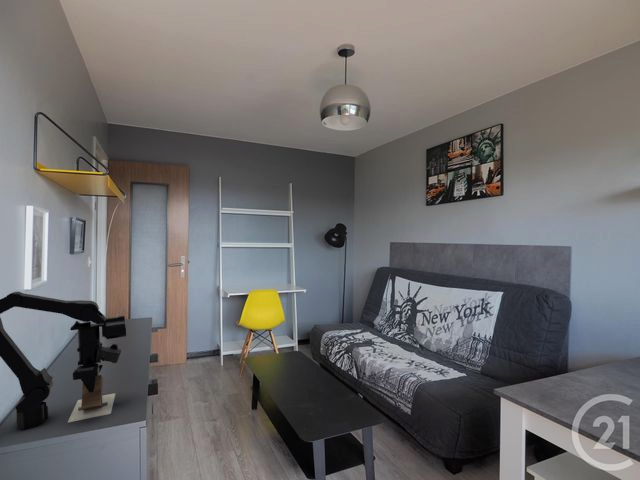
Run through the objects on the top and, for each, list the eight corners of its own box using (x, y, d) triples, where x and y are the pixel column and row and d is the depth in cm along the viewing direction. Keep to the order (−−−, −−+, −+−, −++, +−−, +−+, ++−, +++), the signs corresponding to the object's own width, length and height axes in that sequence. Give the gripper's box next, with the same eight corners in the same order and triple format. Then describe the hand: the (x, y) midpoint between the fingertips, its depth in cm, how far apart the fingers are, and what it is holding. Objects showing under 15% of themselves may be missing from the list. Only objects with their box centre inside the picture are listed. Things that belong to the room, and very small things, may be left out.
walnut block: (100, 404, 114) (101, 374, 118) (81, 408, 112) (83, 377, 116) (102, 406, 117) (102, 378, 121) (83, 410, 115) (85, 381, 119)
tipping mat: (110, 416, 112) (110, 410, 112) (67, 425, 107) (67, 419, 107) (115, 395, 128) (115, 390, 128) (78, 402, 123) (77, 397, 123)
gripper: (115, 345, 109) (118, 397, 109) (121, 331, 126) (123, 377, 127) (71, 351, 105) (73, 406, 105) (83, 336, 122) (85, 383, 122)
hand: (91, 391), depth 115 cm, fingers closed
